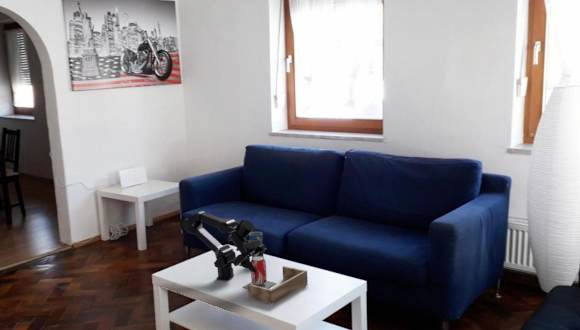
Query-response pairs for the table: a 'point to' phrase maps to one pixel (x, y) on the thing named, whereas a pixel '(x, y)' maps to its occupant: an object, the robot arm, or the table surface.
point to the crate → (279, 286)
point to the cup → (254, 235)
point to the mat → (265, 285)
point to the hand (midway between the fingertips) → (260, 269)
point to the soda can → (258, 270)
